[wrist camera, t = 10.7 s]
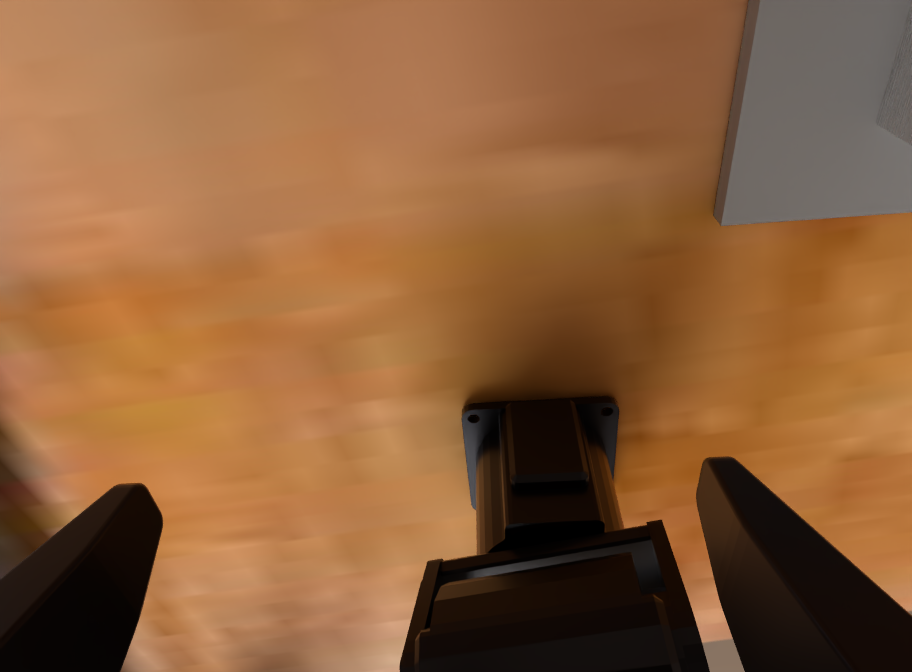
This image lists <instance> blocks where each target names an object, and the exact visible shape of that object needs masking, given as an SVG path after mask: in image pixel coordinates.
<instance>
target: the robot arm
mask: <svg viewBox="0 0 912 672" xmlns="http://www.w3.org/2000/svg"><path fill="white" fill-rule="evenodd" d="M606 407H610V408H609V409H606V410H603V408H606ZM472 414H475V415H478V416H475V417H472V416H470V415H472ZM618 419H619V408H618V404H617V401H616V400H615V399H614V398H612V397H609V396H601V397H582V398H564V399H546V400H527V401H509V402H490V403H473V404H468V405H466V406H465V407H464V408H463V409H462V426H463V435H464V444H465V452H466V461H467V470H468V478H469V487H470V496H471V505H472V507H473V508H474V509H475V510H476V523H477V555H474V556H468V557H462V558H457V559H451V560H445V561H443V559H437V560H431V561H428V562H427V565H426V569H425V572H424V576H423V580H422V582H421V585H420V588H419V592H418V596H417V600H416V604H415V608H414V611H413V615H412V619H411V623H410V627H409V630H408V634H407V638H406V642H405V646H404V650H403V653H402V657H401V661H400V672H710V671H709V667H708V663H707V659H706V656H705V652H704V649H703V645H702V641H701V638H700V635H699V631H698V628H697V624H696V621H695V618H694V615H693V611H692V608H691V605H690V602H689V599H688V596H687V593H686V590H685V587H684V584H683V581H682V578H681V575H680V572H679V569H678V566H677V563H676V561H675V558H674V555H673V552H672V549H671V546H670V543H669V540H668V537H667V534H666V531H665V528H664V525H663V522H662V520H656V521H651V522H646V523H647V525H643V526H638V527H632V528H626V529H624V525H623V521H622V517H621V513H620V509H619V505H618V500H617V496H616V492H615V488H614V484H613V477H614V465H615V454H616V442H617V430H618ZM696 500H697V507H698V512H699V516H700V520H701V524H702V529H703V533H704V537H705V541H706V546H707V550H708V554H709V558H710V563H711V567H712V571H713V575H714V580H715V584H716V588H717V592H718V596H719V600H720V603H721V606H722V609H723V612H724V615H725V618H726V620H727V623H728V626H729V629H730V632H731V634H732V637H733V640H734V643H735V645H736V648H737V651H738V654H739V656H740V659H741V662H742V665H743V668H744V671H745V672H912V615H911V614H909V613H908V612H907V611H906V610H905V609H904V608H903V607H902V606H900V605H899V604H898V603H897V602H896V601H895V600H894V599H893V598H891V597H890V596H889V595H888V594H887V593H886V592H885V591H884V590H882V589H881V588H880V587H879V586H878V585H877V584H876V583H875V582H873V581H872V580H871V579H870V578H869V577H868V576H867V575H866V574H864V573H863V572H862V571H861V570H860V569H859V568H858V567H857V566H855V565H854V564H853V563H852V562H851V561H850V560H849V559H848V558H846V557H845V556H844V555H843V554H842V553H841V552H840V551H839V550H837V549H836V548H835V547H834V546H833V545H832V544H831V543H830V542H828V541H827V540H826V539H825V538H824V537H823V536H822V535H821V534H819V533H818V532H817V531H816V530H815V529H814V528H813V527H812V526H810V525H809V524H808V523H807V522H806V521H805V520H804V519H803V518H801V517H800V516H799V515H798V514H797V513H796V512H795V511H794V510H792V509H791V508H790V507H789V506H788V505H787V504H786V503H785V502H783V501H782V500H781V499H780V498H779V497H778V496H777V495H776V494H774V493H773V492H772V491H771V490H770V489H769V488H768V487H766V486H765V485H764V484H763V483H762V482H761V481H760V480H759V479H757V478H756V477H755V476H754V475H753V474H752V473H751V472H750V471H748V470H747V469H746V468H745V467H744V466H743V465H742V464H741V463H739V462H738V461H737V460H736V459H734V458H732V457H708V458H706V459H705V460H704V461H703V464H702V468H701V473H700V478H699V483H698V487H697V493H696ZM162 528H163V518H162V514H161V512H160V510H159V508H158V506H157V505H156V503H155V501H154V499H153V497H152V496H151V494H150V492H149V490H148V489H147V487H146V486H145V485H143V484H142V483H127V484H118V485H116V486H114V487H113V488H111V489H110V490H109V491H107V492H106V493H105V494H104V495H103V496H101V497H100V498H99V499H98V500H96V501H95V502H94V503H93V504H92V505H90V506H89V507H88V508H87V509H85V510H84V511H83V512H82V513H81V514H79V515H78V516H77V517H76V518H74V519H73V520H72V521H71V522H70V523H68V524H67V525H66V526H65V527H63V528H62V529H61V530H60V531H59V532H57V533H56V534H55V535H54V536H52V537H51V538H50V539H49V540H48V541H46V542H45V543H44V544H43V545H41V546H40V547H39V548H38V549H37V550H35V551H34V552H33V553H32V554H30V555H29V556H28V557H27V558H26V559H24V560H23V561H22V562H21V563H19V564H18V565H17V566H16V567H15V568H13V569H12V570H11V571H10V572H8V573H7V574H6V575H5V576H3V577H2V578H1V579H0V672H120V671H121V668H122V665H123V663H124V660H125V657H126V655H127V652H128V649H129V646H130V644H131V641H132V638H133V635H134V633H135V630H136V627H137V624H138V621H139V618H140V614H141V611H142V607H143V604H144V600H145V596H146V592H147V588H148V584H149V580H150V576H151V572H152V568H153V564H154V560H155V556H156V552H157V548H158V545H159V541H160V537H161V533H162Z"/></svg>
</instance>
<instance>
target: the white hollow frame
mask: <svg viewBox="0 0 912 672" xmlns="http://www.w3.org/2000/svg"><path fill="white" fill-rule="evenodd" d="M875 124H876V125H878V126H880V127H881V128H883V129H885V130H886V131H888V132H890V133H891V134H893V135H895V136H896V137H898V138H900V139H902V140H903V141H905V142H907V143H908V144H910V145H912V4H911V7H910V10H909V14H908V17H907V20H906V24H905V27H904V30H903V34H902V37H901V40H900V43H899V47H898V50H897V53H896V57H895V60H894V63H893V67H892V70H891V73H890V77H889V80H888V83H887V87H886V90H885V93H884V97H883V100H882V103H881V107H880V110H879V113H878V117H877V120H876V123H875Z"/></svg>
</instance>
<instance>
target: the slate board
mask: <svg viewBox="0 0 912 672" xmlns="http://www.w3.org/2000/svg"><path fill="white" fill-rule="evenodd" d="M911 4H912V0H749V2H748V8H747V14H746V20H745V26H744V32H743V38H742V44H741V50H740V56H739V63H738V69H737V75H736V81H735V87H734V93H733V99H732V105H731V111H730V117H729V123H728V129H727V135H726V142H725V148H724V154H723V160H722V166H721V172H720V178H719V184H718V190H717V196H716V202H715V208H714V214H713V216H714V217H715V218H716V220H717V221H718V222H719V224H720V225H721V226H727V225H741V224H755V223H769V222H783V221H797V220H811V219H825V218H839V217H852V216H866V215H880V214H894V213H908V212H912V145H910V144H908V143H907V142H905V141H903V140H902V139H900V138H898V137H896V136H895V135H893V134H891V133H890V132H888V131H886V130H885V129H883V128H881V127H880V126H878V125H876V124H875V123H876V120H877V117H878V113H879V110H880V107H881V103H882V100H883V97H884V93H885V90H886V87H887V83H888V80H889V77H890V73H891V70H892V67H893V63H894V60H895V57H896V53H897V50H898V47H899V43H900V40H901V37H902V34H903V30H904V27H905V24H906V20H907V17H908V14H909V10H910V7H911Z"/></svg>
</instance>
